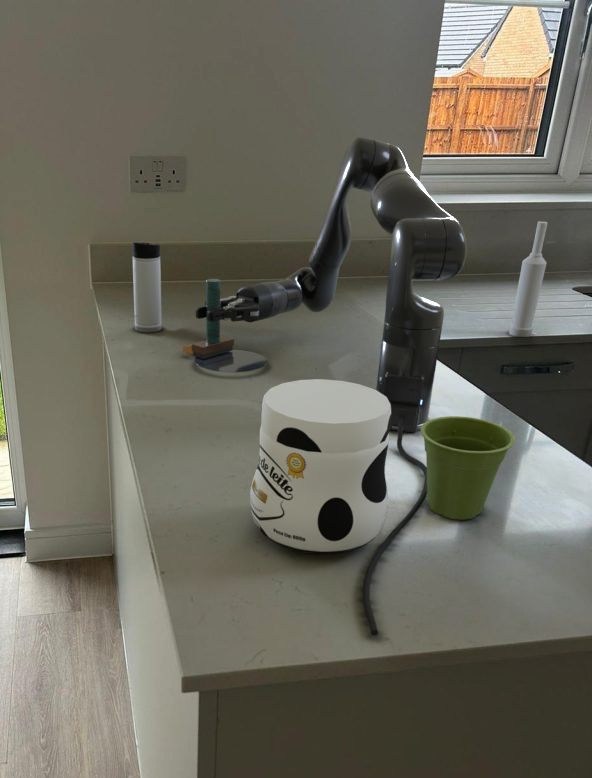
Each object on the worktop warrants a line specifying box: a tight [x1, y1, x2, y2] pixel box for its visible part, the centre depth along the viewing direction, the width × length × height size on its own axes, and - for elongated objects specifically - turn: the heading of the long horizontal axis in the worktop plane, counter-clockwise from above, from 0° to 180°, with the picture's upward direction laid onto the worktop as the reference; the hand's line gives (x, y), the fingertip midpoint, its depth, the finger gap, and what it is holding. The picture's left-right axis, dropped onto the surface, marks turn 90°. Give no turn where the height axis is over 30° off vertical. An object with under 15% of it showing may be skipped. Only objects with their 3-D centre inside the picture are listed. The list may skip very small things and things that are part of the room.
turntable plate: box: [194, 349, 268, 373], centre depth 161 cm, size 15×15×1 cm
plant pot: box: [420, 415, 516, 521], centre depth 105 cm, size 12×12×11 cm
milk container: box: [249, 378, 391, 555], centre depth 98 cm, size 17×17×18 cm
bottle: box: [508, 221, 548, 338], centre depth 178 cm, size 5×5×25 cm
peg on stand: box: [191, 278, 235, 359], centre depth 161 cm, size 9×4×15 cm, turn 133°
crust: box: [181, 344, 193, 355], centre depth 166 cm, size 4×4×2 cm
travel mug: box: [132, 241, 163, 334], centre depth 180 cm, size 6×7×20 cm
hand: (202, 315), depth 159 cm, fingers closed on peg on stand, 3 cm apart
